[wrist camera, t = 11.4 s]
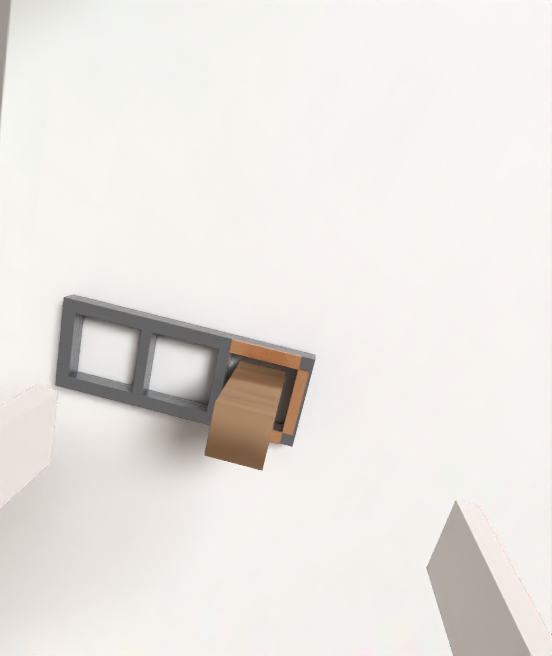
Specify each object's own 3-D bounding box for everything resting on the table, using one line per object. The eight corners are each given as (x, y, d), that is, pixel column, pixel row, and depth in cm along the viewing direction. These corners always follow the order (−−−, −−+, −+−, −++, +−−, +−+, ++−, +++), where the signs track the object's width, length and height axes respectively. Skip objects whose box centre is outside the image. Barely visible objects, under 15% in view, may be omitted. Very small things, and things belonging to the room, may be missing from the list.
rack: (73, 294, 40) (62, 297, 38) (315, 354, 39) (315, 360, 37) (64, 379, 42) (54, 385, 40) (293, 438, 41) (292, 447, 39)
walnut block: (241, 359, 40) (215, 401, 30) (286, 371, 39) (275, 416, 30) (231, 401, 41) (204, 455, 31) (276, 413, 41) (262, 470, 31)
